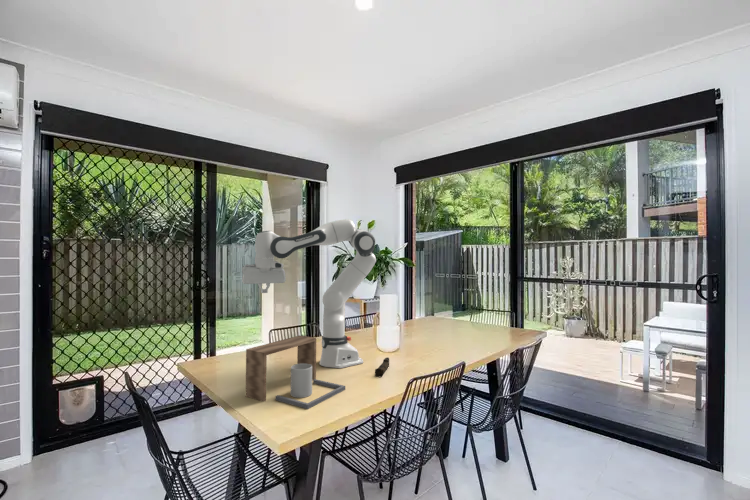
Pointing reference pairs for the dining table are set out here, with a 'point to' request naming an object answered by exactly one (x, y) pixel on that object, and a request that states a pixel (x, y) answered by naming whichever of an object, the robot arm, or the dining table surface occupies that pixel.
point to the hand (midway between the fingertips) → (264, 292)
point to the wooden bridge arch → (258, 362)
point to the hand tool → (382, 367)
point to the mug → (301, 380)
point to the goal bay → (308, 405)
